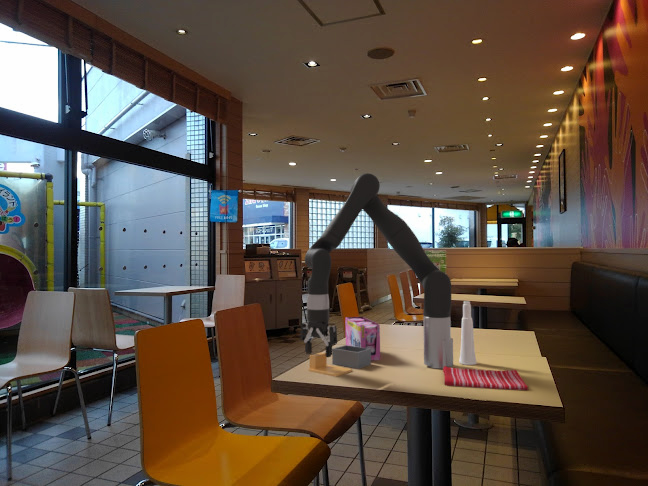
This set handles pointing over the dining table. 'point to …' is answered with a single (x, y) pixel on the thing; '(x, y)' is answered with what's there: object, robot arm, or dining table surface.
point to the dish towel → (484, 378)
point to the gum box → (363, 334)
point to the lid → (325, 366)
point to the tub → (351, 356)
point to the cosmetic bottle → (467, 337)
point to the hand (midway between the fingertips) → (318, 355)
